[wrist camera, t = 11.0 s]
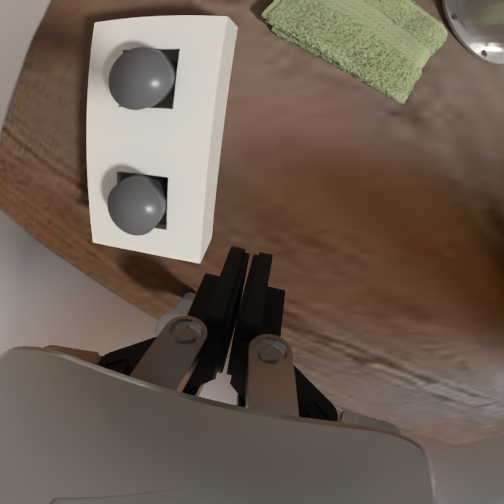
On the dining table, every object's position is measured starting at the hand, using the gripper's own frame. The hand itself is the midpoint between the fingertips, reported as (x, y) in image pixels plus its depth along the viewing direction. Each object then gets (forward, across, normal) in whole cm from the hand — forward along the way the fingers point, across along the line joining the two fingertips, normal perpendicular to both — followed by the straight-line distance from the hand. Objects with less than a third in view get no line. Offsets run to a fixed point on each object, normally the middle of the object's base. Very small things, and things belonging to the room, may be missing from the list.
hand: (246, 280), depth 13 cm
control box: (+24, +14, 0) cm, 28 cm away
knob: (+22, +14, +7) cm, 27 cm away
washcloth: (+26, -6, -16) cm, 31 cm away
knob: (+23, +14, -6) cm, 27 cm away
